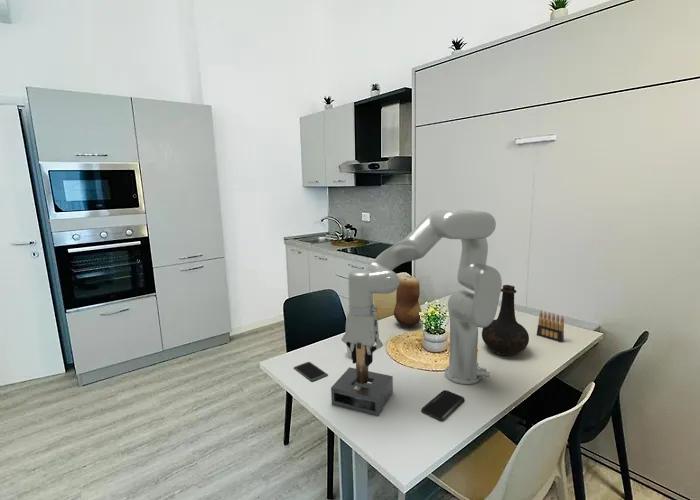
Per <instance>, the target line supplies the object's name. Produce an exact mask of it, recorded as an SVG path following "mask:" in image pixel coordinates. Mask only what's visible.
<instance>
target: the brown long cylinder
mask: <svg viewBox="0 0 700 500" xmlns="http://www.w3.org/2000/svg"><path fill="white" fill-rule="evenodd" d="M355 346H356V363H355V369H356V381H357V383H360V384H365V383H369V382H368V381H369V376H368V371H369V366H366V354H367V349H366V345H361V344H360V343H357V344H355Z"/></svg>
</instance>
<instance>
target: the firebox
mask: <svg viewBox="0 0 700 500" xmlns="http://www.w3.org/2000/svg"><path fill="white" fill-rule="evenodd" d="M368 376H369V381H368V382H367V383H365V384H360V383H357V381H356V367H350V366H349V367H348V368H347V369H346V370H345V371H344V373H343V374H342V375H341V376H340V377H339V378H338V379H337V380H336V382H334V383H333V385H332V386H331V387H330V392H331V393H330V396H331V405H332V406H334V407H335V406H336V407H339V408H343V409H347V410H351V411H356V412H359V413H363V414H367V415H370V416H374V417H379V416H380V415H381V413H382V412H383V410H384V408H385V406H386V404H387V403H388V401H389V399H390V398H391V396H392V394H393V393H394V385H393V384H394V381H393V380H394V377H393V375H389V374H383V373H378V372H374V371H370V370H368Z"/></svg>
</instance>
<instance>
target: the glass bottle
mask: <svg viewBox="0 0 700 500" xmlns="http://www.w3.org/2000/svg"><path fill="white" fill-rule="evenodd" d="M515 288H516V286H514V285H512V284H511V285H508V284H504V285H502V287H501V292H500V293H502V294H501V295H502V296H501V302H500V309H499V313H498V316H497V318H496V319H494V320H493V322H492V323H491V324H490V325H489V326H487V327H484V328H482V330H481V338H482V341H483V343H484V344H485V346H487V348H488V349H489V350H491V351H493V352H494V353H496V354H498V355H502V356H515V355H518V354H520V353H523V351H525V349H526V348H527V347H528V345H529V342H530V337H529V336H530V335H529V333H528V330H527V329H526V328H525V326H524V325H522V324H521V323H518V321H517V317H516V312H515V294H516V293H517V290H516V289H515Z"/></svg>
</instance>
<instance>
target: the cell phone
mask: <svg viewBox="0 0 700 500" xmlns="http://www.w3.org/2000/svg"><path fill="white" fill-rule="evenodd" d="M293 369H294V370H295V371H296V372H297V373H299V374H300V375H302V376H303V377H304V378H305V379H307V380H308V381H310V382H311V383H314V382H317V381H319V380H322V379H324V378H326V377H328V376H329V374H328V373H327V372H325V371H324V370H322V369H321V368H320V367H318V366H317V365H315V363H312V362H311V361H307V362H303V363H301V364H298V365H296V366H294V367H293Z"/></svg>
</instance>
